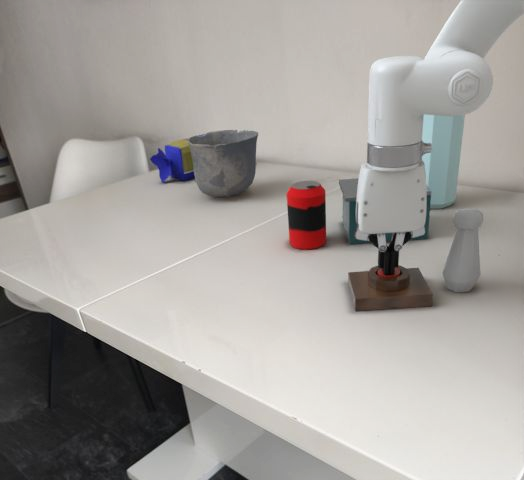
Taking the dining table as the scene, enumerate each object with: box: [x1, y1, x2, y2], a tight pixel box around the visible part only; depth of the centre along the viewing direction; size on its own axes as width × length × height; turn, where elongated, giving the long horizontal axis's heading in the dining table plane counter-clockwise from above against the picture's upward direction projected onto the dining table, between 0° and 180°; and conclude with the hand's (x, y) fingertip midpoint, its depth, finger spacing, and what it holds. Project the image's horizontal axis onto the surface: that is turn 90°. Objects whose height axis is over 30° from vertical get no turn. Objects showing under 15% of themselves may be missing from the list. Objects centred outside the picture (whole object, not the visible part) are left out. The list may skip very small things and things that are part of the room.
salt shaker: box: [442, 207, 484, 293], centre depth 86 cm, size 6×6×13 cm
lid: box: [338, 177, 431, 202], centre depth 109 cm, size 16×13×1 cm
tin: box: [342, 195, 431, 245], centre depth 111 cm, size 16×13×9 cm
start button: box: [377, 268, 400, 278], centre depth 88 cm, size 4×4×2 cm
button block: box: [347, 264, 434, 312], centre depth 88 cm, size 12×10×4 cm
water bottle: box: [422, 114, 466, 210], centre depth 118 cm, size 10×10×25 cm
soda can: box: [286, 180, 327, 251], centre depth 108 cm, size 8×8×12 cm
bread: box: [149, 133, 205, 183], centre depth 163 cm, size 10×25×10 cm, turn 130°
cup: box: [188, 129, 259, 198], centre depth 140 cm, size 18×18×15 cm
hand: (387, 271), depth 87 cm, fingers closed
